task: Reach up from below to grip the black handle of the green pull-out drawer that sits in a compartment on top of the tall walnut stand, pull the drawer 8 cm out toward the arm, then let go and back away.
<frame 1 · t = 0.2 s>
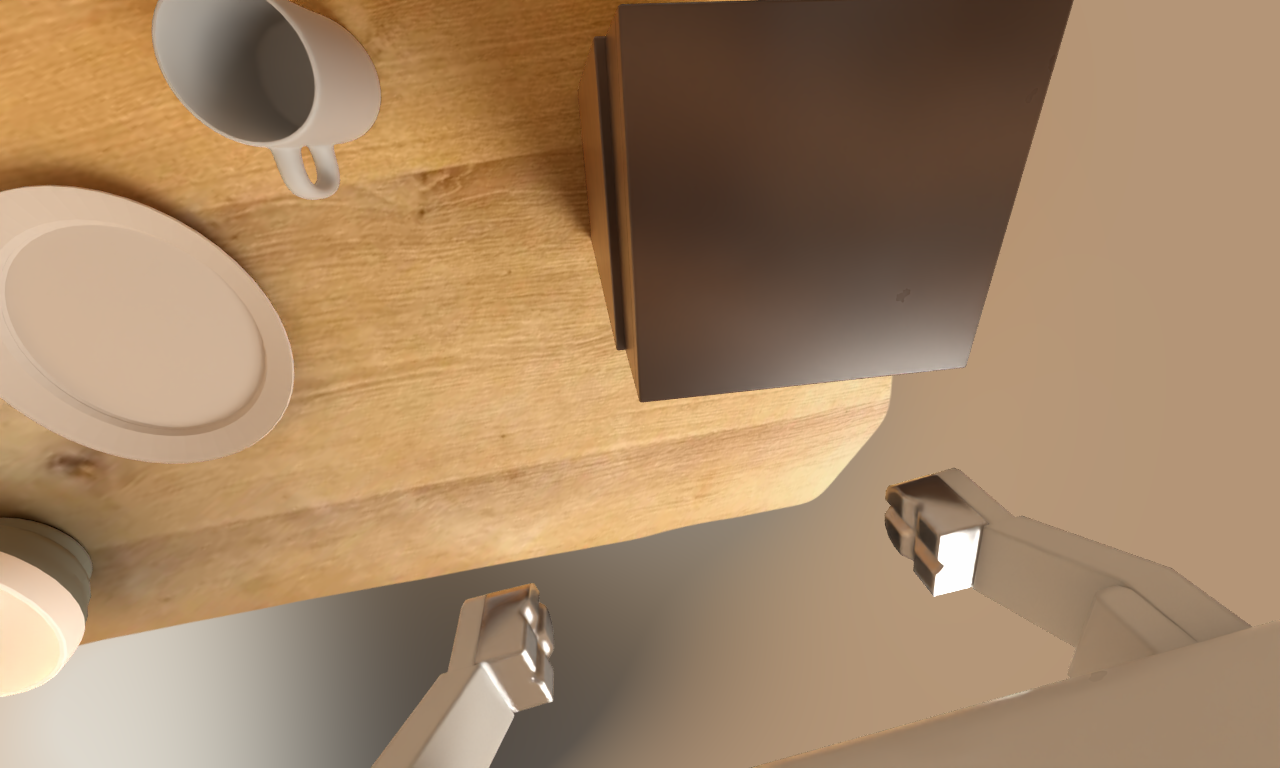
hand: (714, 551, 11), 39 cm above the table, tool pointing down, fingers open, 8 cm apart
plate: (146, 334, 44), on the table
stand: (663, 164, 43), on the table
mug: (330, 107, 38), on the table
bowl: (33, 553, 53), on the table
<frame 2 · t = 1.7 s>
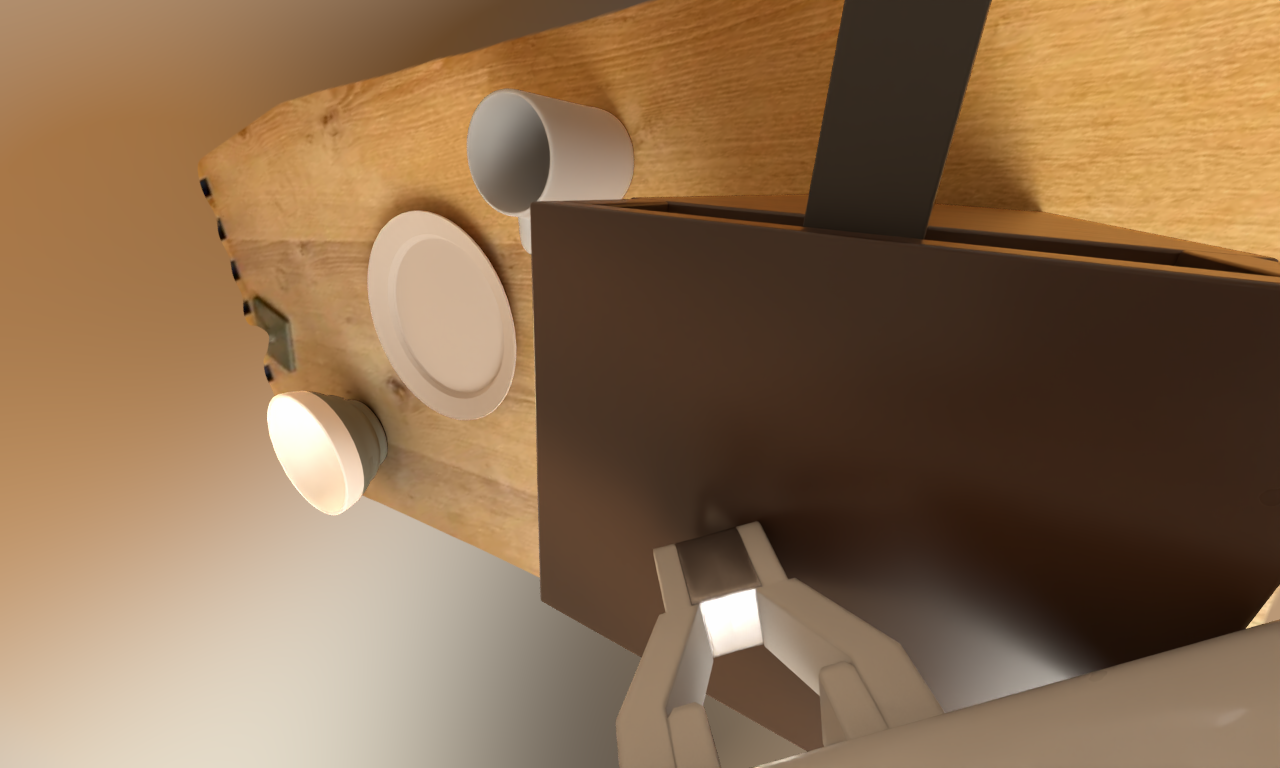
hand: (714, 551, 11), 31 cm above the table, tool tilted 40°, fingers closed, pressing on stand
plate: (449, 318, 61), on the table
stand: (892, 290, 35), on the table
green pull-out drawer: (870, 211, 11), point 27 cm above the table, slide at 0.0 cm
mug: (595, 183, 45), on the table
bowl: (368, 430, 80), on the table
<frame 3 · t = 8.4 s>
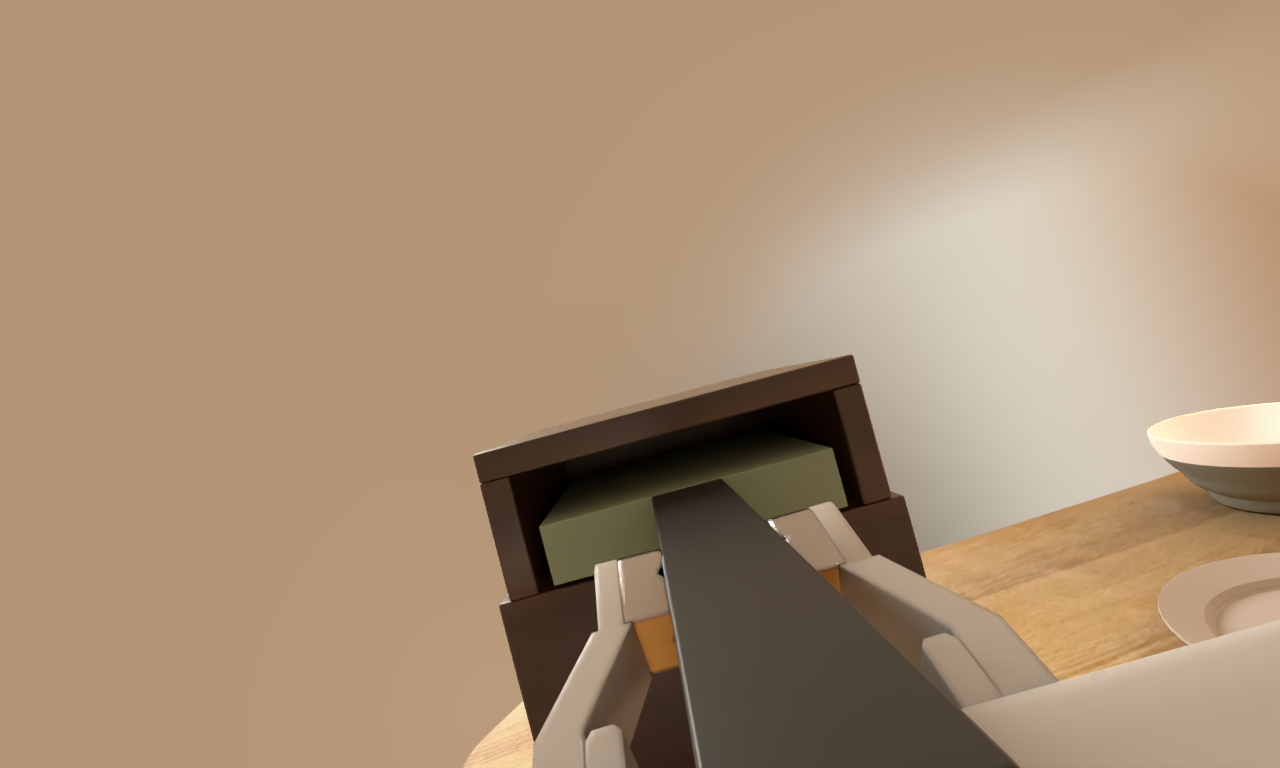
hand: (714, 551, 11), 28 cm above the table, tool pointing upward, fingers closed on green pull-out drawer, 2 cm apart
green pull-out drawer: (701, 531, 14), point 27 cm above the table, slide at 1.7 cm, touching gripper
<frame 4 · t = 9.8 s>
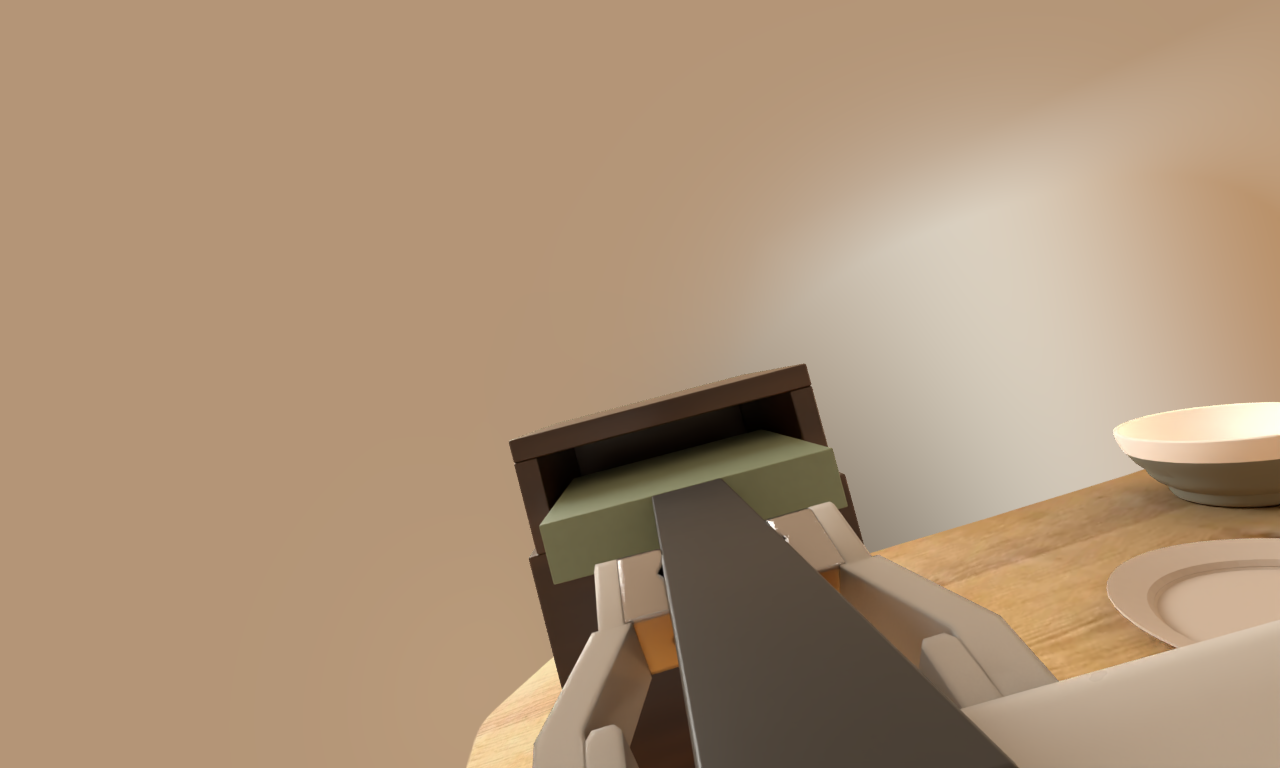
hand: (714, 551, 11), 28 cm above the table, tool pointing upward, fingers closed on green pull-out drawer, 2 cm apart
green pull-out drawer: (701, 531, 14), point 27 cm above the table, slide at 6.3 cm, touching gripper
bowl: (1238, 495, 62), on the table
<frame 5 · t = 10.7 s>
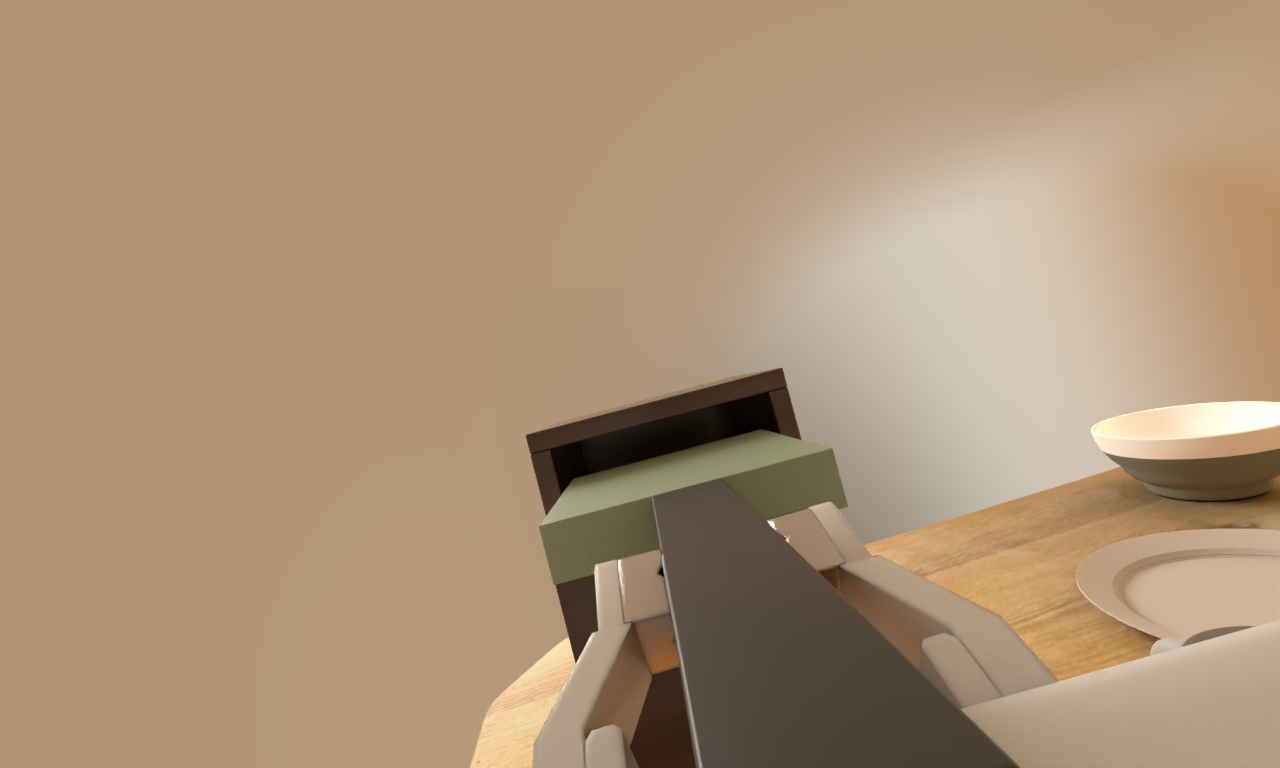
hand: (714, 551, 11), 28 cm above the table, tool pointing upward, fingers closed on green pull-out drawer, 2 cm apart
plate: (1277, 609, 42), on the table
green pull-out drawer: (701, 531, 14), point 27 cm above the table, slide at 9.6 cm, touching gripper
bowl: (1207, 490, 66), on the table
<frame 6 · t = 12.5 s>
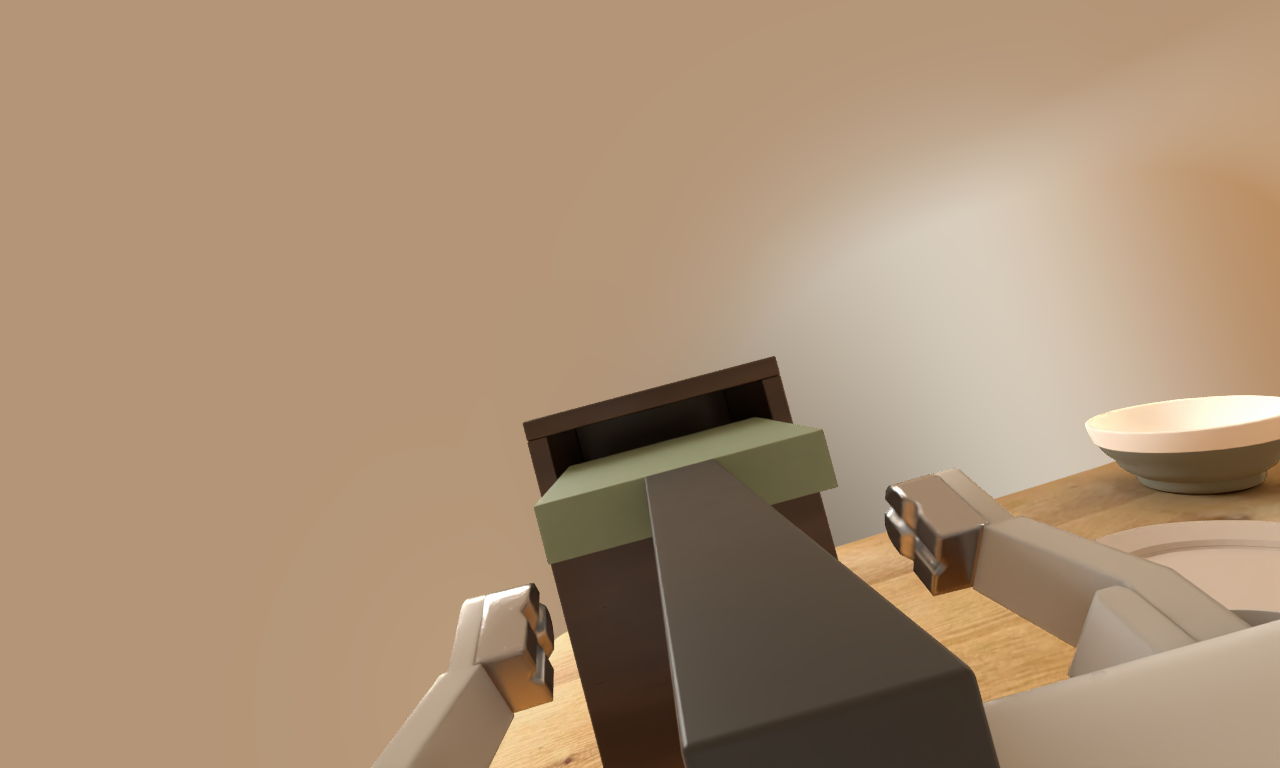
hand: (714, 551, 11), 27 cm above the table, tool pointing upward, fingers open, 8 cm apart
plate: (1266, 598, 42), on the table
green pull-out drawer: (693, 509, 15), point 27 cm above the table, slide at 9.8 cm
bowl: (1200, 483, 66), on the table
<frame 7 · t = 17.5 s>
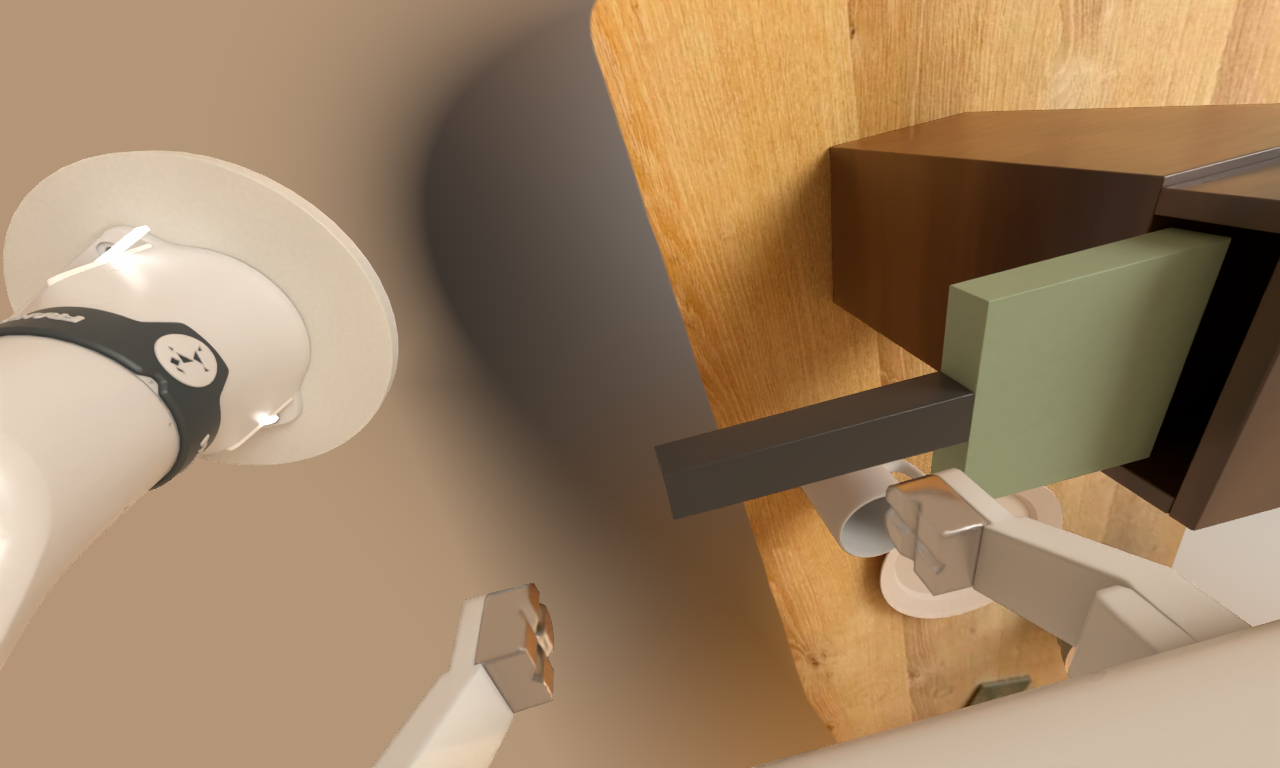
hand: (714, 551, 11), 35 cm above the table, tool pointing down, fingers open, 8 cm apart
plate: (959, 543, 68), on the table
stand: (894, 214, 44), on the table
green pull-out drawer: (914, 416, 20), point 27 cm above the table, slide at 9.8 cm
mug: (839, 454, 57), on the table
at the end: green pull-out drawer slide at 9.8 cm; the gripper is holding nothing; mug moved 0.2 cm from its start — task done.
